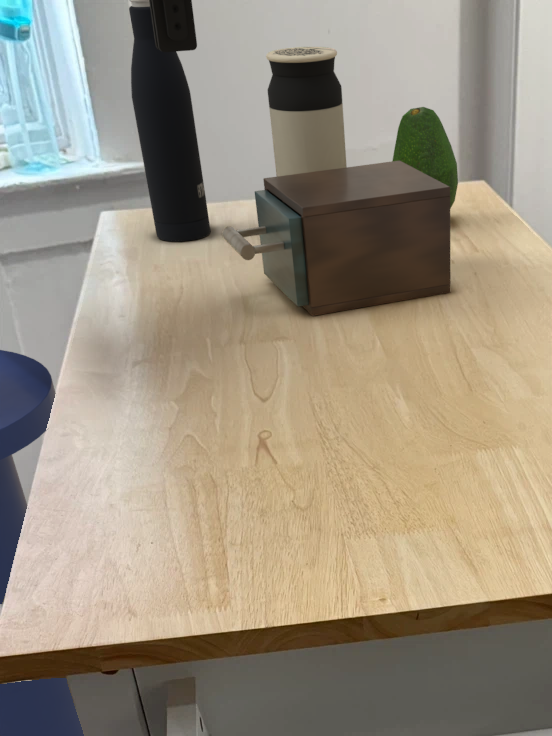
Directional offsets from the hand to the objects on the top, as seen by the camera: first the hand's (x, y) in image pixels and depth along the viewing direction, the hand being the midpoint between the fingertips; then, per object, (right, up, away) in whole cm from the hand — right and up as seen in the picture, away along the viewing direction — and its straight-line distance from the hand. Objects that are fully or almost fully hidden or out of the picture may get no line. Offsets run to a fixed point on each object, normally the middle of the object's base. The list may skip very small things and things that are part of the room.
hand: (176, 49), depth 86 cm
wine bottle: (-7, +1, +35) cm, 36 cm away
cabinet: (+15, -12, +18) cm, 26 cm away
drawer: (+11, -13, +17) cm, 24 cm away
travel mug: (+9, 0, +33) cm, 34 cm away
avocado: (+22, +2, +35) cm, 41 cm away
